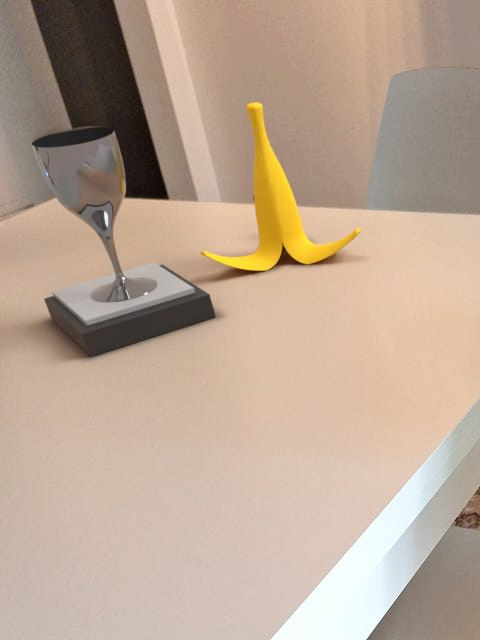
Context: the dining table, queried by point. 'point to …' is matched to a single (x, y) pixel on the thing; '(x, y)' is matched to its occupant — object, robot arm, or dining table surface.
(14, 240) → the dining table surface
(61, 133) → the wine glass
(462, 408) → the dining table surface
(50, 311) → the scale
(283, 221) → the banana peel
